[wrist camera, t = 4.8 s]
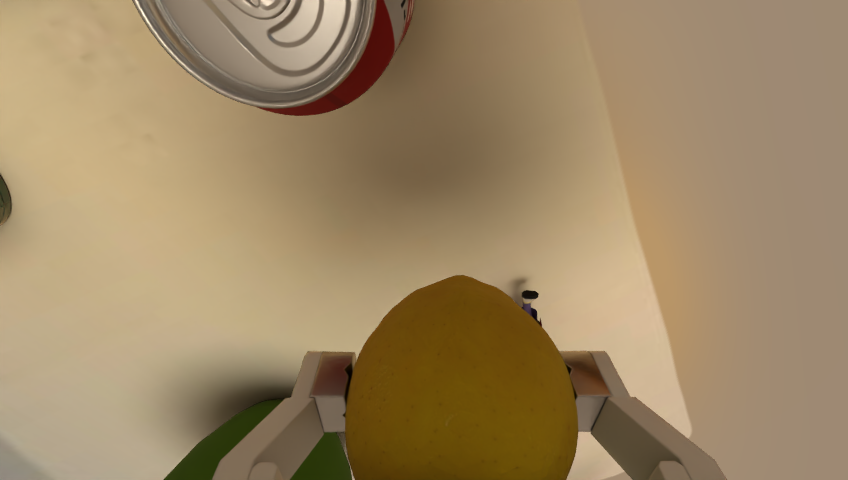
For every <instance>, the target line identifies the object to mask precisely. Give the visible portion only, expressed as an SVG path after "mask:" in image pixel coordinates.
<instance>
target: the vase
mask: <svg viewBox="0 0 848 480" xmlns="http://www.w3.org/2000/svg"><path fill="white" fill-rule="evenodd" d="M282 401H283V400H268V401H264V402H260V403H258V404H255V405H253V406H251V407H250V408H248V409H246V410H244V411H242V412H240V413H238V414H236V415H235V416H234V417H232V418H231V419H230V420H228V421H227V422H226V423H224V424H223V425H222V426H220V427H219V428H218V429H216V430H215V431H214V432H213V433H211V434H210V435H209V436H207V437H206V438H205V439H203V440H202V441H201V442H199V443H198V444H197V445H196V446H195V447H194V448H193V449H192V450H191V451H190V453H189V454H188V455H187V456H186V457H185V458H184V459H183V460H182V461H181V462H180V463H179V464H178V465H177V466H176V467H175V468H174V469H173V470H172V471H171V472H170V473H169V474H168V475H167V477H166V478H165V479H164V480H212V478H213V476H214V474H215V471H216V469H217V467H218V464H219V462H220V460H221V459H222V458H224V457H225V456H226V455H227V454H228V453H229V452H230V451H231V450H232V449H233V448H234V447H235V446H236V445H237V444H238V443H239V442H240V441H241V440H242V439H243V438H245V437H246V436H247V435H248V434H249V433H250V432H251V431H252V430H253V429H254V428H255V427H256V426H257V425H258V424H259V423H260V422H261V421H262V420H263V419H264V418H266V417H267V416H268V415H269V414H270V413H271V412H272V411H273V410H274V409H275V408H276V407H277V406H278V405H279V404H280V403H281V402H282ZM290 480H352V476H351V470H350V466H349V463H348V461H347V458H346V455H345V453H344V450H343V447H342V445H341V442H340V439H339V437H338V435H337V433H336V432H326V433H324V435H323V436H322V438H321V439H320V440H319V442H318V443H317V444H316V445H315V447H314V448H313V449H312V451H311V452H310V453H309V455H308V456H307V457H306V459H305V460H304V461H303V463H302V464H301V465H300V467H299V468H298V469H297V471H296V472H295V473H294V475H293V476H292V477H291V478H290Z"/></svg>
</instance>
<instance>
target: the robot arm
mask: <svg viewBox="0 0 848 480" xmlns="http://www.w3.org/2000/svg"><path fill="white" fill-rule="evenodd" d="M559 353H560V355H561V357H562V359H563V361H564V363H565V365H566V367H567V370H568V373H569V376H570V379H571V383H572V387H573V390H574V397H575V402H576V406H577V415H578V431H579V432H591V434H592V435H593V436H594V438H595V439H596V440H597V441H598V442H599V443H600V444H601V445H602V446H603V447H604V449H605V450H606V451H607V452H608V453H609V454H610V455H611V456H612V457H613V459H614V460H615V461H616V462H617V463H618V464H619V465H620V466H621V467H622V469H623V470H624V471H625V472H626V473H627V474H628V475H629V476H630V477H631V478H632V479H633V480H727V479H726V477H725V476H724V474H723V472H722V471H721V469H720V468H719V466H718V465H717V463H716V461H715V460H714V459H713V458H712V457H710V456H709V455H708V454H707V453H705V452H704V451H703V450H702V449H700V448H699V447H698V446H696V445H695V444H694V443H693V442H691V441H690V440H689V439H688V438H686V437H685V436H684V435H683V434H681V433H680V432H679V431H677V430H676V429H675V428H674V427H672V426H671V425H670V424H669V423H667V422H666V421H665V420H664V419H662V418H661V417H660V416H658V415H657V414H656V413H655V412H653V411H652V410H651V409H650V408H648V407H647V406H646V405H645V404H643V403H642V402H641V401H639V400H638V399H637V398H636V397H630V395H629V393H628V392H627V390H626V388H625V386H624V384H623V382H622V380H621V378H620V377H619V375H618V373H617V371H616V369H615V367H614V365H613V363H612V361H611V360H610V358H609V356H608V354H607V353H606V352H605V351H559ZM355 363H356V354H355V352H324V351H308V352H307V353H306V355H305V356H304V359H303V362H302V365H301V368H300V371H299V374H298V377H297V380H296V383H295V386H294V390H293V393H292V396H291V398H285V399H284V400H283V401H282V402H281V403H280V404H279V405H278V406H277V407H276V408H275V409H274V410H273V411H272V412H271V413H270V414H269V415H268V416H267V417H266V418H264V419H263V420H262V421H261V422H260V423H259V424H258V425H257V426H256V427H255V428H254V429H253V430H252V431H251V432H250V433H249V434H248V435H247V436H246V437H245V438H243V439H242V440H241V441H240V442H239V443H238V444H237V445H236V446H235V447H234V448H233V449H232V450H231V451H230V452H229V453H228V454H227V455H226V456H225V457H224V458H222V459H221V460H220V462H219V464H218V467H217V469H216V471H215V474H214V476H213V478H212V480H290V478H291V477H292V476H293V475H294V473H295V472H296V471H297V469H298V468H299V467H300V465H301V464H302V463H303V461H304V460H305V459H306V457H307V456H308V455H309V453H310V452H311V451H312V449H313V448H314V447H315V445H316V444H317V443H318V442H319V440H320V439H321V438H322V436H323V435H324V433H326V432H345V413H346V405H347V395H348V390H349V385H350V381H351V377H352V373H353V369H354V366H355Z"/></svg>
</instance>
